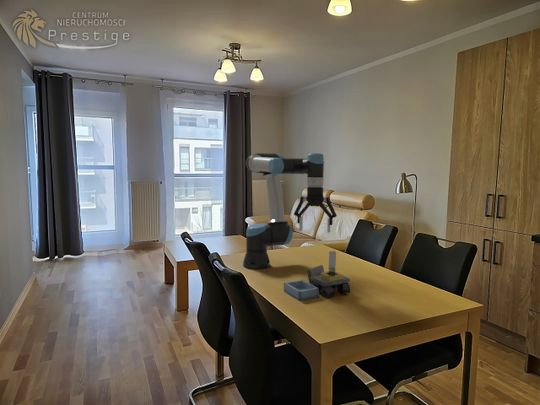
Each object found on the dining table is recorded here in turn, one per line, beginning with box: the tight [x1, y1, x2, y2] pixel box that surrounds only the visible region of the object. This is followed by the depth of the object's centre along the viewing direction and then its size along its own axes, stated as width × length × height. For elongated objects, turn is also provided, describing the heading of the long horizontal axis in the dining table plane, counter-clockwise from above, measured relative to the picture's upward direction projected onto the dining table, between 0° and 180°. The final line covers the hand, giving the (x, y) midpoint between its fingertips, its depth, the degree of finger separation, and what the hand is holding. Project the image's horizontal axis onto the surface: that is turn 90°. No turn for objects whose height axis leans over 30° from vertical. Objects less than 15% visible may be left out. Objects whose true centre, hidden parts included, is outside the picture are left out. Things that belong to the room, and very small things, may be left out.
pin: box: [328, 250, 337, 276], centre depth 161 cm, size 3×3×12 cm
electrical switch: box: [306, 264, 325, 284], centre depth 173 cm, size 9×5×9 cm, turn 138°
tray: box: [283, 279, 320, 302], centre depth 161 cm, size 13×10×4 cm
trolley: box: [311, 270, 351, 299], centre depth 163 cm, size 13×14×9 cm
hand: (314, 231), depth 172 cm, fingers open, 13 cm apart
